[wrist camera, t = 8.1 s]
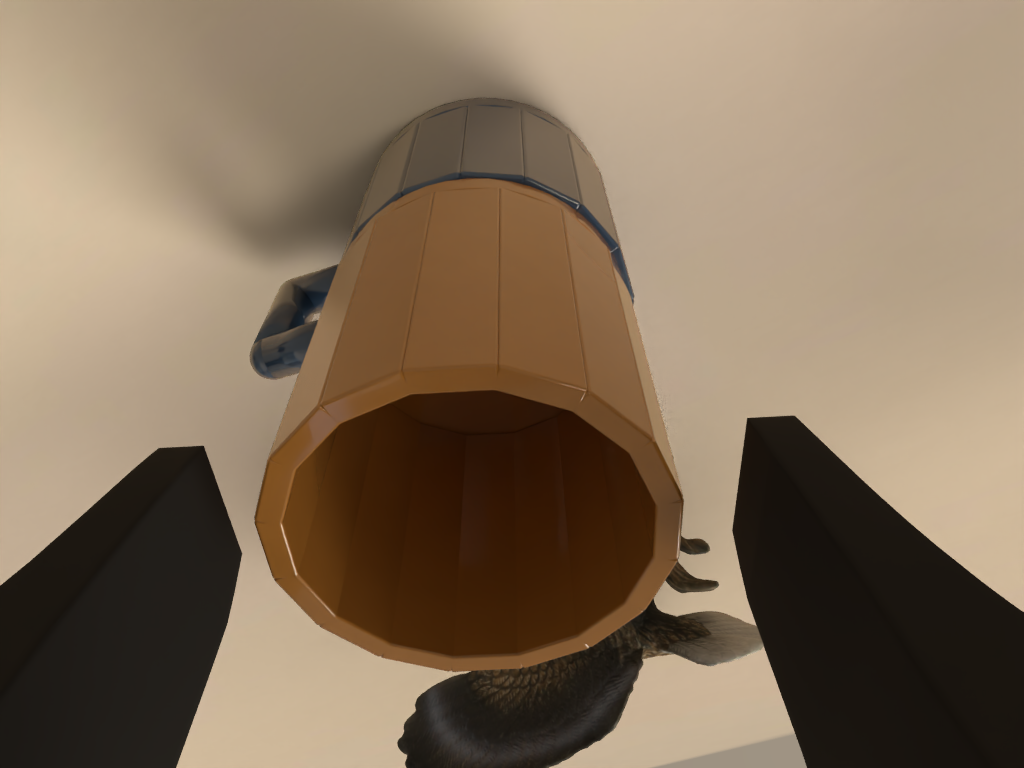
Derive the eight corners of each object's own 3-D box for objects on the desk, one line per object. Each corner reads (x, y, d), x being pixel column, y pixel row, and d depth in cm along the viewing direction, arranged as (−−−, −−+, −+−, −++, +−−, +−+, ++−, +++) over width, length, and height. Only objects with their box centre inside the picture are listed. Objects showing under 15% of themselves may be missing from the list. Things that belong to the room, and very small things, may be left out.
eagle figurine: (476, 434, 21) (342, 684, 24) (670, 648, 16) (475, 920, 19) (650, 441, 26) (523, 644, 29) (830, 603, 22) (658, 821, 25)
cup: (569, 60, 17) (587, 129, 13) (631, 285, 20) (661, 392, 16) (233, 176, 18) (164, 268, 14) (339, 370, 21) (305, 487, 17)
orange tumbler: (687, 305, 15) (769, 527, 10) (495, 472, 17) (492, 716, 12) (461, 109, 13) (437, 276, 8) (277, 328, 15) (177, 556, 10)
